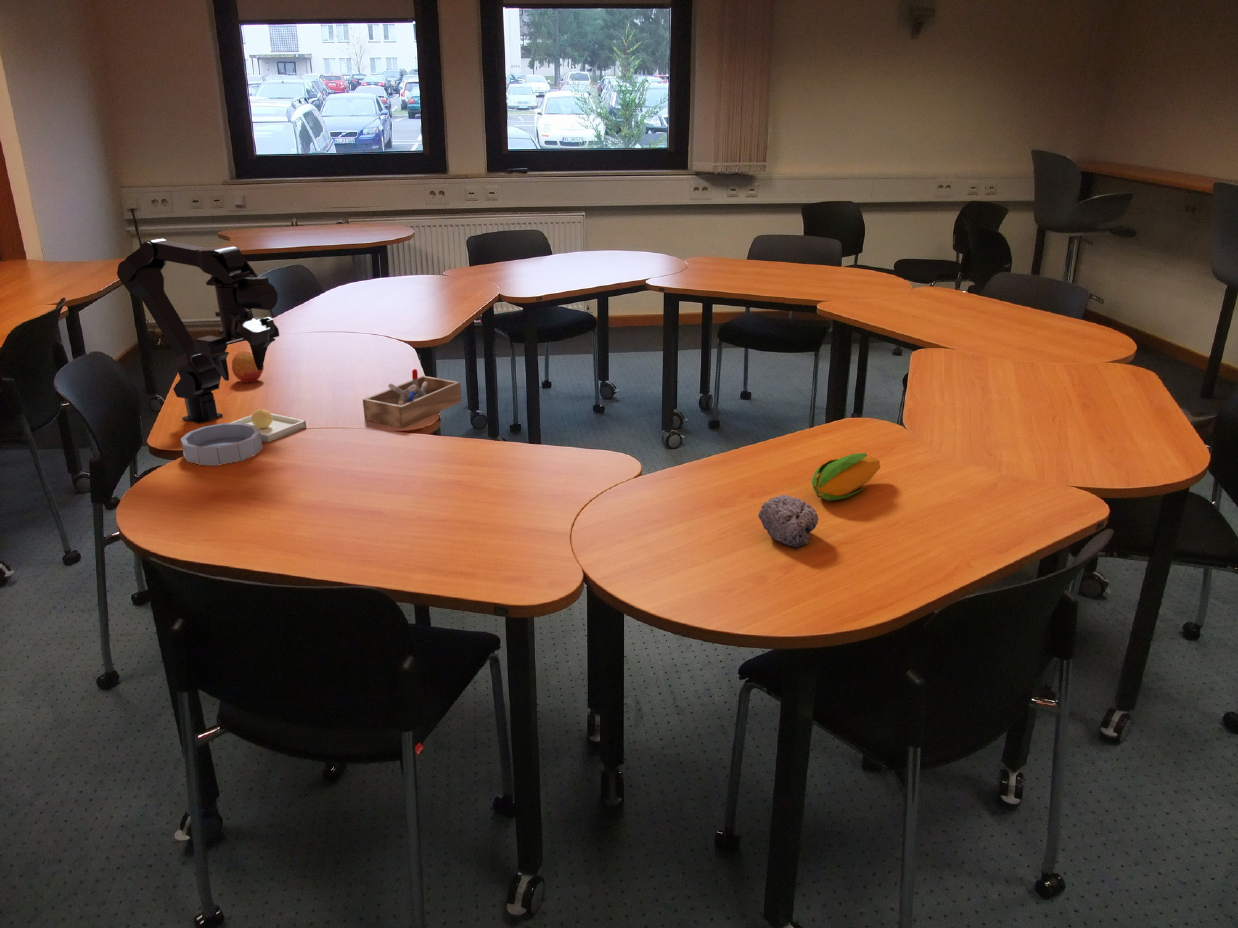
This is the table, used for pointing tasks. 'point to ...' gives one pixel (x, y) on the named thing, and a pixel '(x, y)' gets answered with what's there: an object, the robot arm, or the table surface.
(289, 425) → the tray
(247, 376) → the fruit
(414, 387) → the molecular model
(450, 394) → the wooden box
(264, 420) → the ball
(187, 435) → the bowl
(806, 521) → the pumice stone
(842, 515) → the table surface
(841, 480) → the corn
